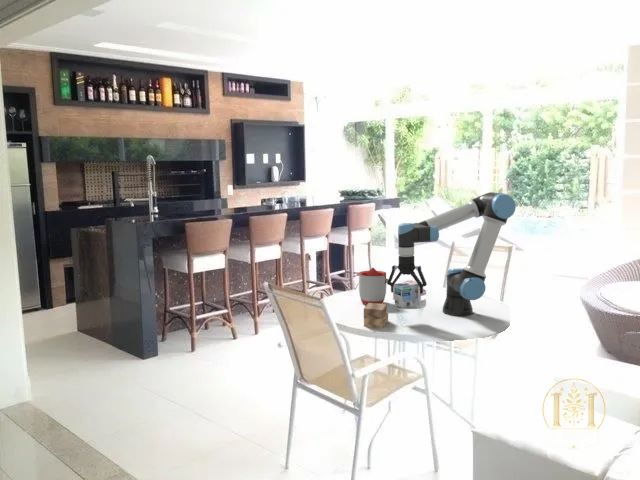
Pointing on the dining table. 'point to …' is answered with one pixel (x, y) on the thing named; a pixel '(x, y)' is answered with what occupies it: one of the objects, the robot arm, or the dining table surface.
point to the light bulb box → (406, 294)
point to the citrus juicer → (372, 286)
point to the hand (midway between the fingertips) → (406, 299)
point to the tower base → (376, 322)
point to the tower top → (375, 310)
